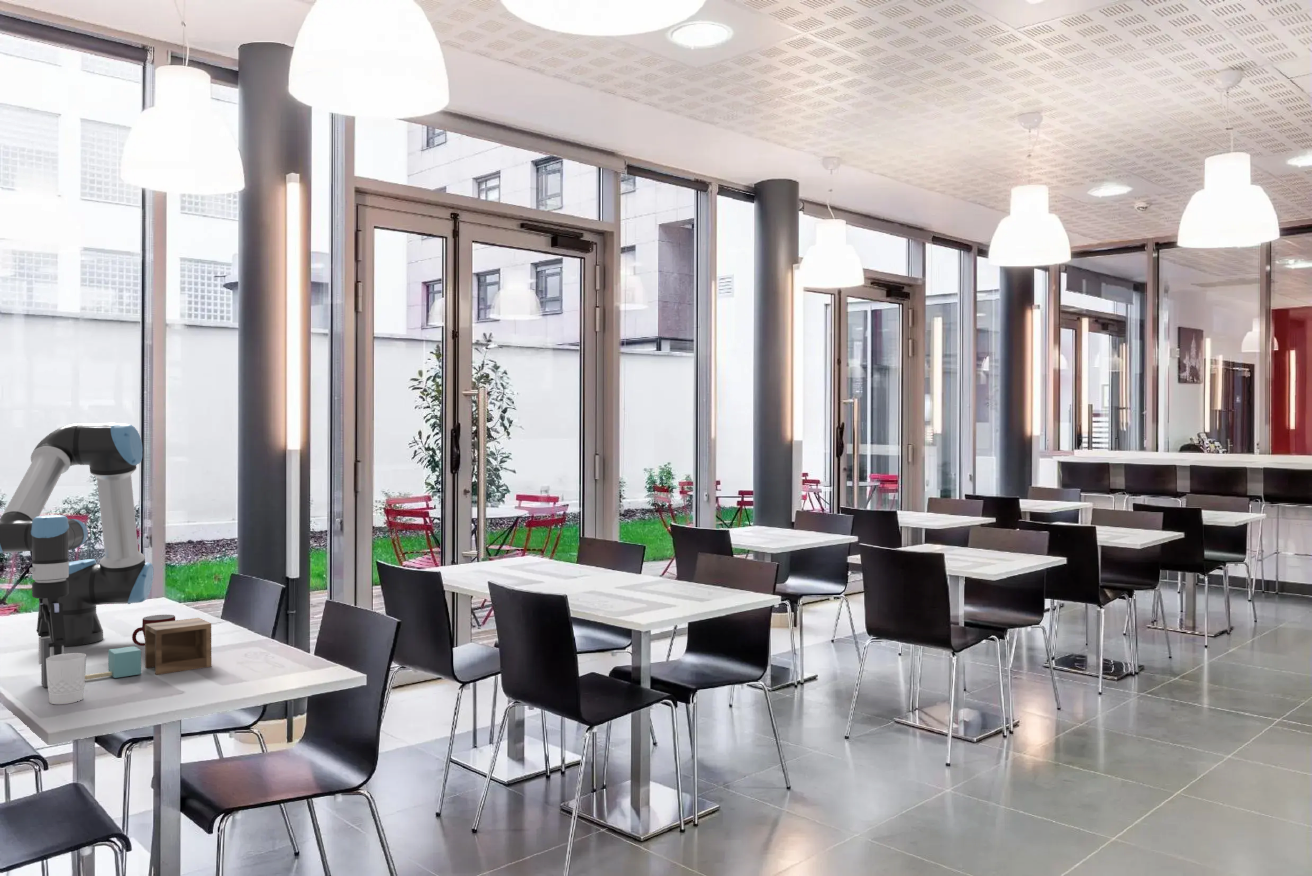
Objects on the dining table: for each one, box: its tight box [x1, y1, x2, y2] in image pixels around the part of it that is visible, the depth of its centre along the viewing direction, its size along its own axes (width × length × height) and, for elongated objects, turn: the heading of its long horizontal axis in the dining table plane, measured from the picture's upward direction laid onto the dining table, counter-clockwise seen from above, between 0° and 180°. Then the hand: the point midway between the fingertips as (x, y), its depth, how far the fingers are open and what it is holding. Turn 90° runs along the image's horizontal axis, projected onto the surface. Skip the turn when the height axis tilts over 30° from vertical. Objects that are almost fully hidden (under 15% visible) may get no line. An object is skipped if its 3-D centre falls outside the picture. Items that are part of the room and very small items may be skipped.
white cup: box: [46, 652, 87, 705], centre depth 226 cm, size 8×8×10 cm
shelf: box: [144, 617, 213, 676], centre depth 258 cm, size 10×13×11 cm
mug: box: [131, 614, 176, 647], centre depth 272 cm, size 11×8×10 cm
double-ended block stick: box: [40, 638, 142, 688], centre depth 245 cm, size 6×21×11 cm, turn 131°
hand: (51, 668), depth 239 cm, fingers open, 13 cm apart
